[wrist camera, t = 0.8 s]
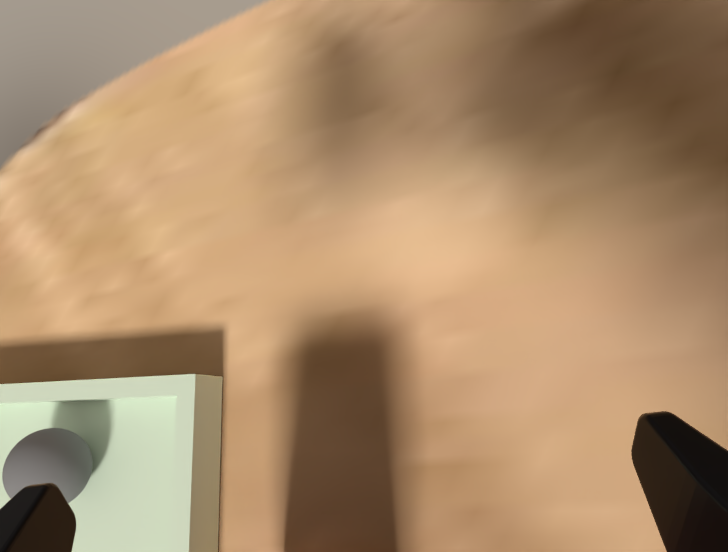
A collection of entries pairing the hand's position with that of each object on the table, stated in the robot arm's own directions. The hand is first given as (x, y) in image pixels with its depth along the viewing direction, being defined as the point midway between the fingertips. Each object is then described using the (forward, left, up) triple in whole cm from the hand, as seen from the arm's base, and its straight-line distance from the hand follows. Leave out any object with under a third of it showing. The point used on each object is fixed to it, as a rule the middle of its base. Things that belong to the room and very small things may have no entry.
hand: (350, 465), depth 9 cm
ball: (-1, +16, -13) cm, 21 cm away
